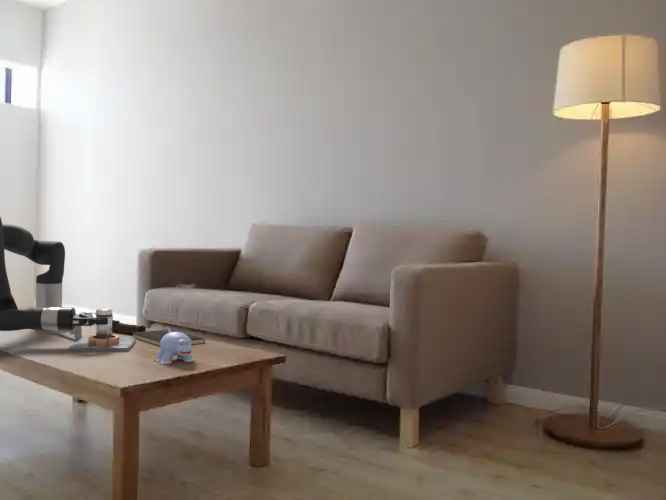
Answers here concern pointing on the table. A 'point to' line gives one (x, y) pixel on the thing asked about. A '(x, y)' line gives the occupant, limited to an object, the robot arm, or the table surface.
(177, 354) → the hippopotamus toy
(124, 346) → the grey square base plate
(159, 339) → the hardcover book
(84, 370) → the table surface
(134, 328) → the hand tool
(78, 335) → the caliper
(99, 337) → the steel piston
